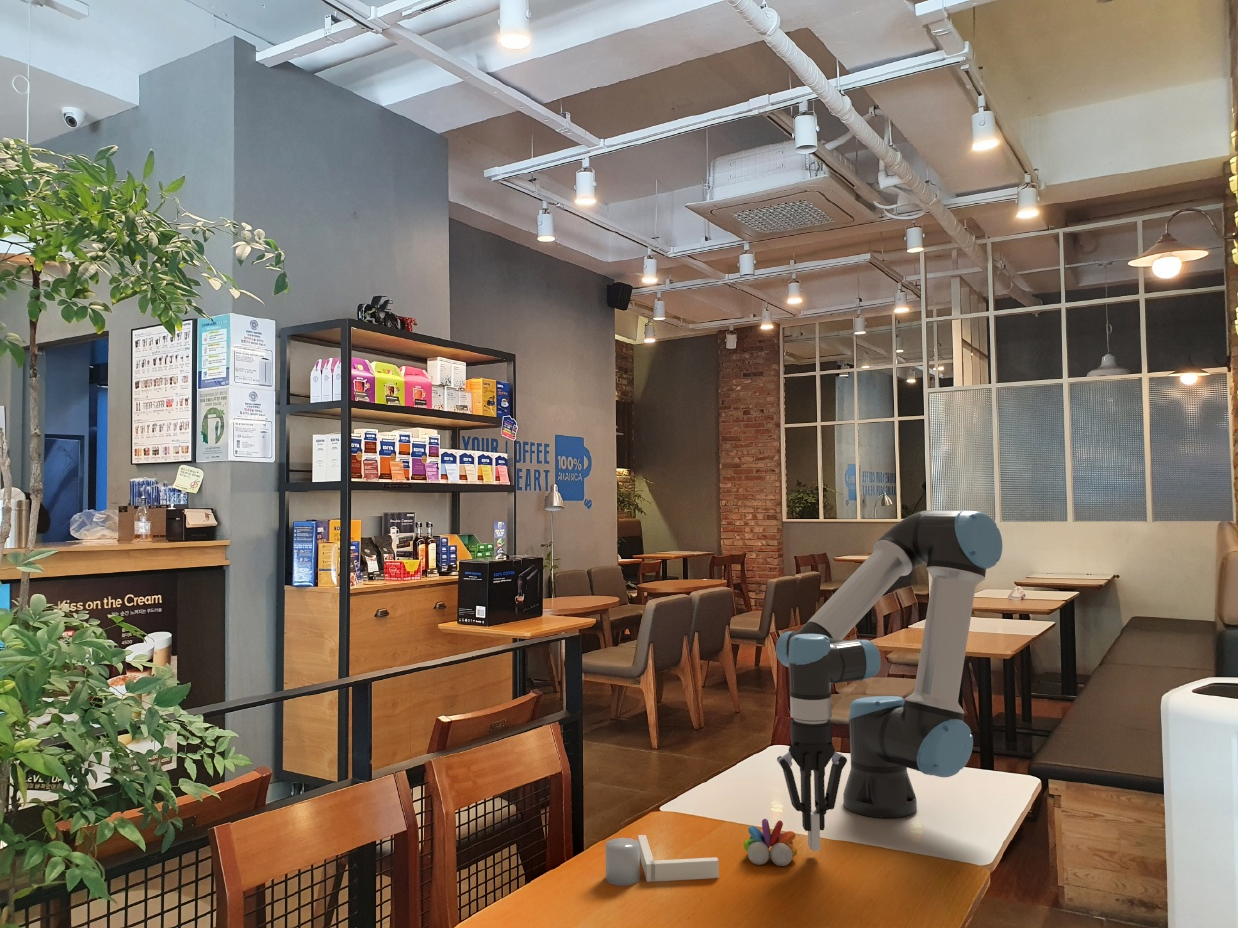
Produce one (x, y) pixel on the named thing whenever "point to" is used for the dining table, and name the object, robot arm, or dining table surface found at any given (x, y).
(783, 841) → the rainbow petal fan toy
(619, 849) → the short grey cylinder
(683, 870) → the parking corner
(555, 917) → the dining table surface
